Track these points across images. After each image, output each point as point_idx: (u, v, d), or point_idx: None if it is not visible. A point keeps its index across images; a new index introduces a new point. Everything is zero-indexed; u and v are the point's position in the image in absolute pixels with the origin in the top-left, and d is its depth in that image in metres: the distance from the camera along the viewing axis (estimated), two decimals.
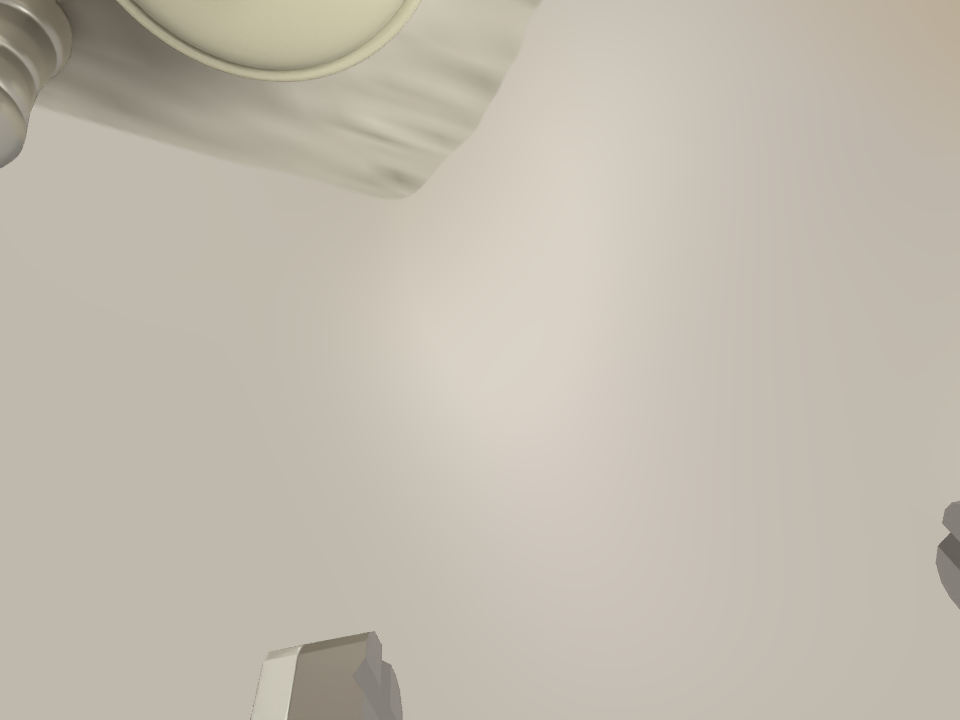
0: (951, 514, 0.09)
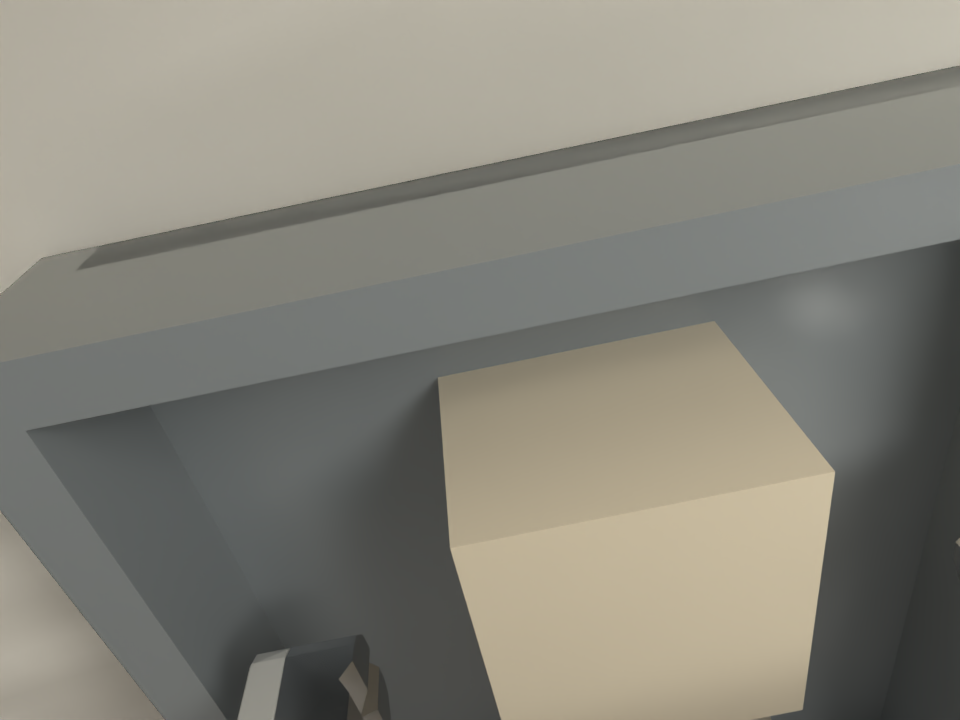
0: None
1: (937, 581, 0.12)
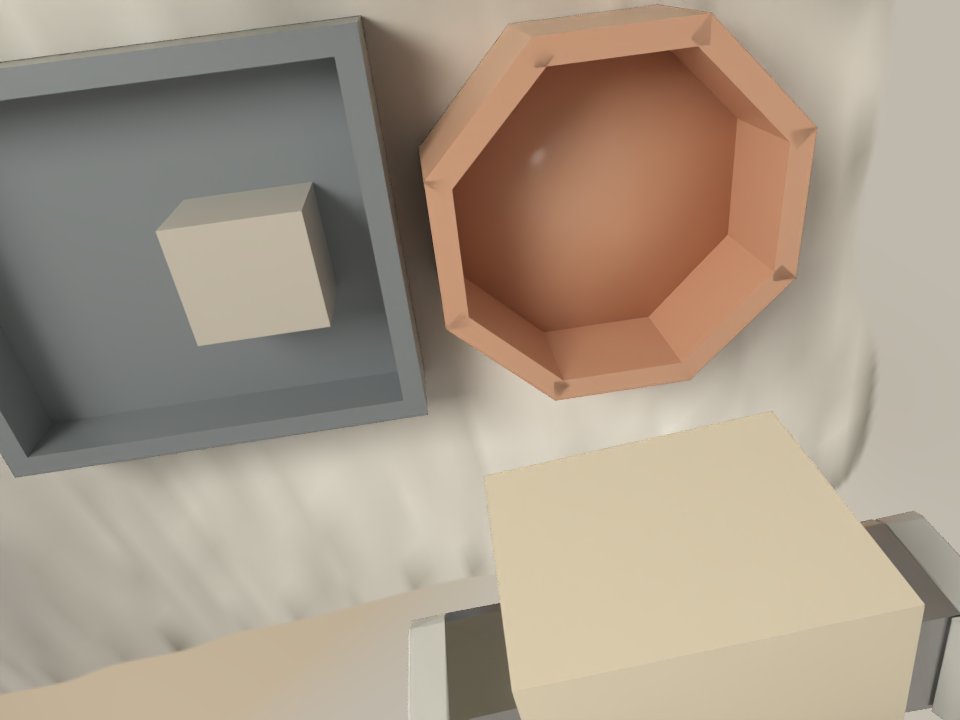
0: None
1: None
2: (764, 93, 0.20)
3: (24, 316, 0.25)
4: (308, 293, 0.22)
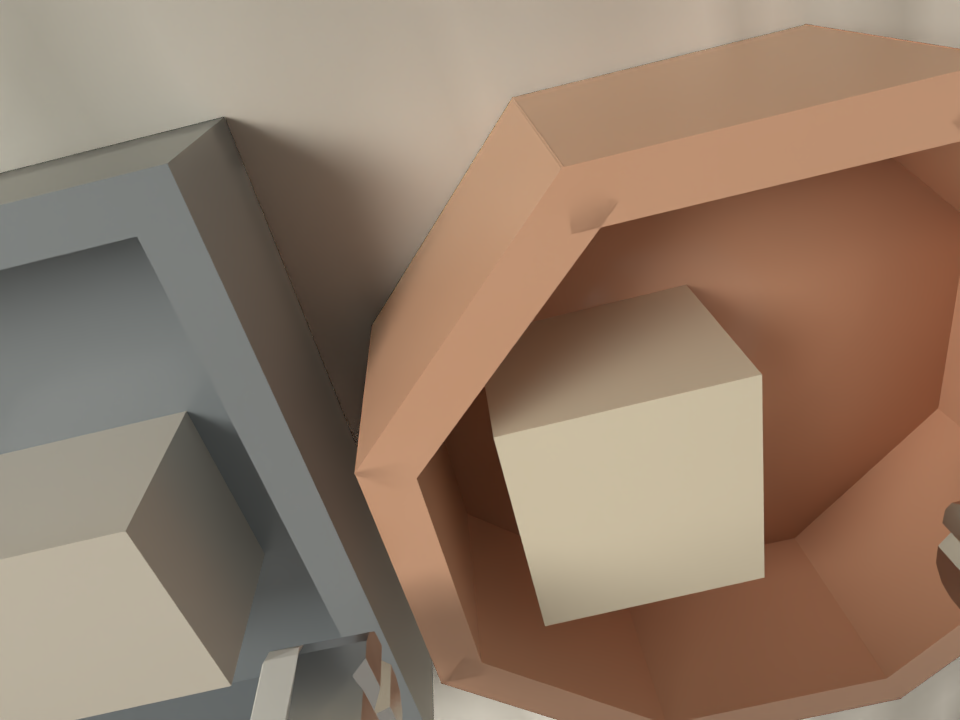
0: (951, 514, 0.09)
1: None
2: None
3: None
4: (177, 647, 0.12)
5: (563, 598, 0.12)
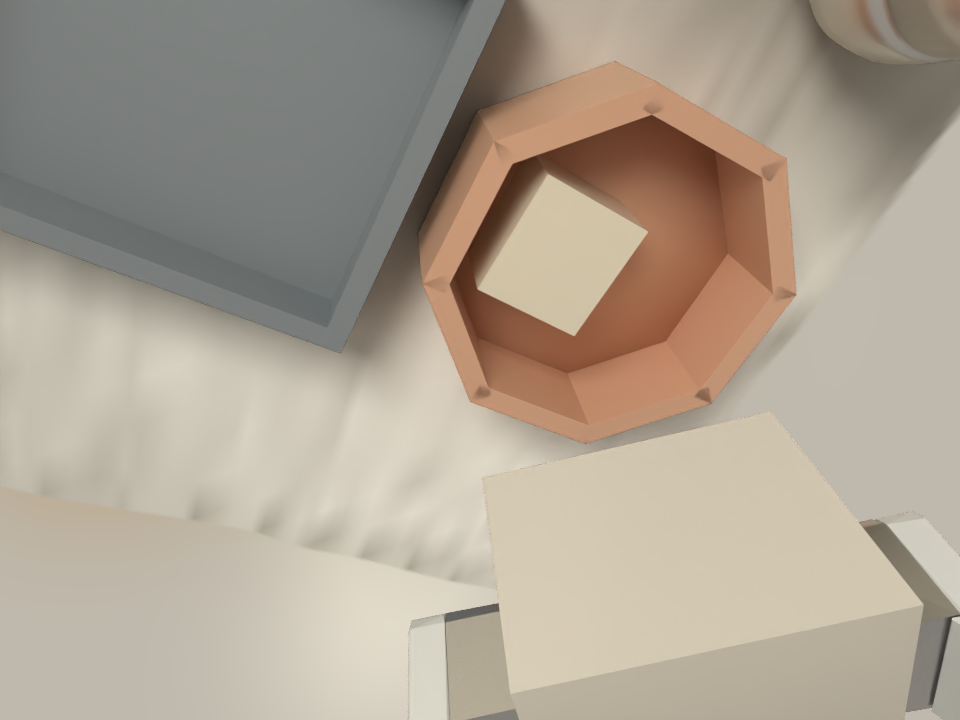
0: None
1: None
2: (780, 245, 0.23)
3: None
4: None
5: (497, 279, 0.23)
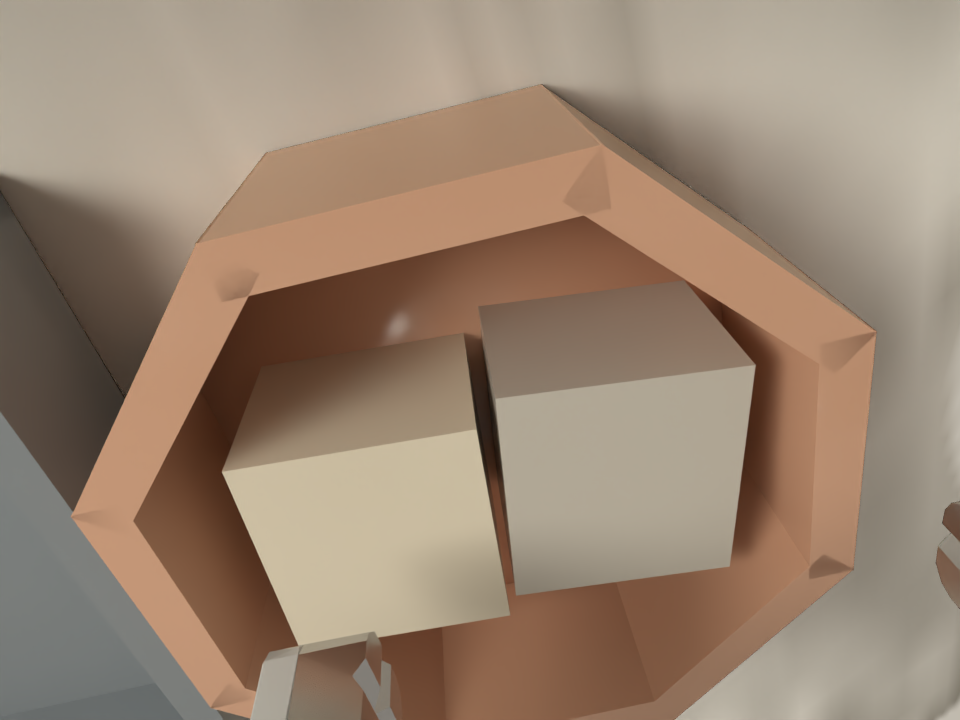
0: (951, 514, 0.09)
1: None
2: (752, 285, 0.09)
3: None
4: (584, 570, 0.12)
5: (314, 625, 0.12)
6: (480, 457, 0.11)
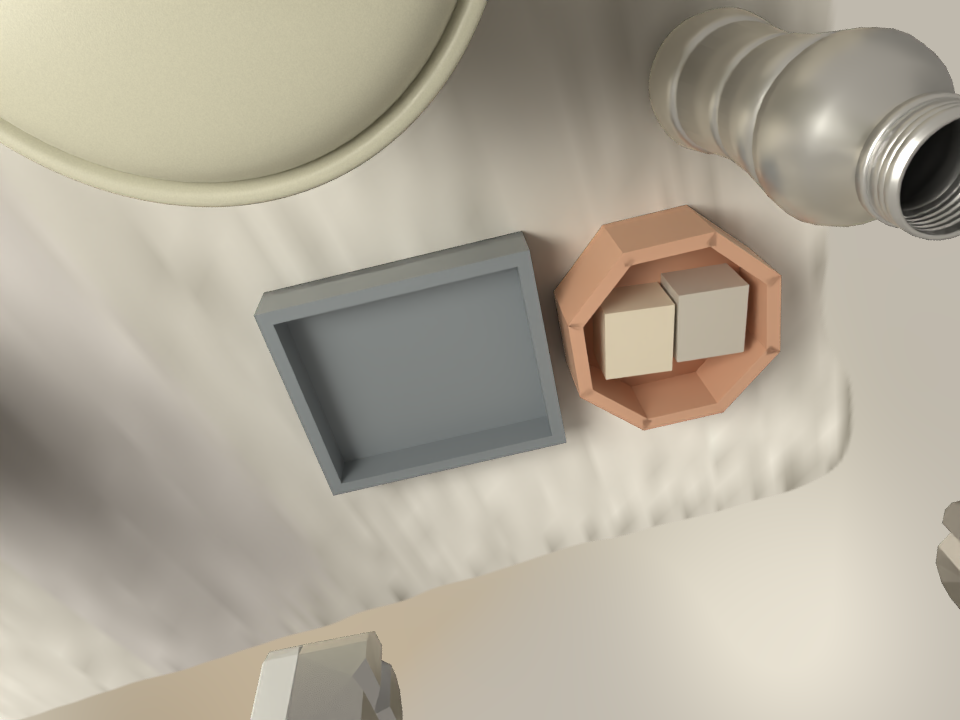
0: (951, 514, 0.09)
1: None
2: (749, 263, 0.37)
3: (335, 404, 0.43)
4: (698, 353, 0.40)
5: (613, 370, 0.40)
6: (674, 313, 0.39)
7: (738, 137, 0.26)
